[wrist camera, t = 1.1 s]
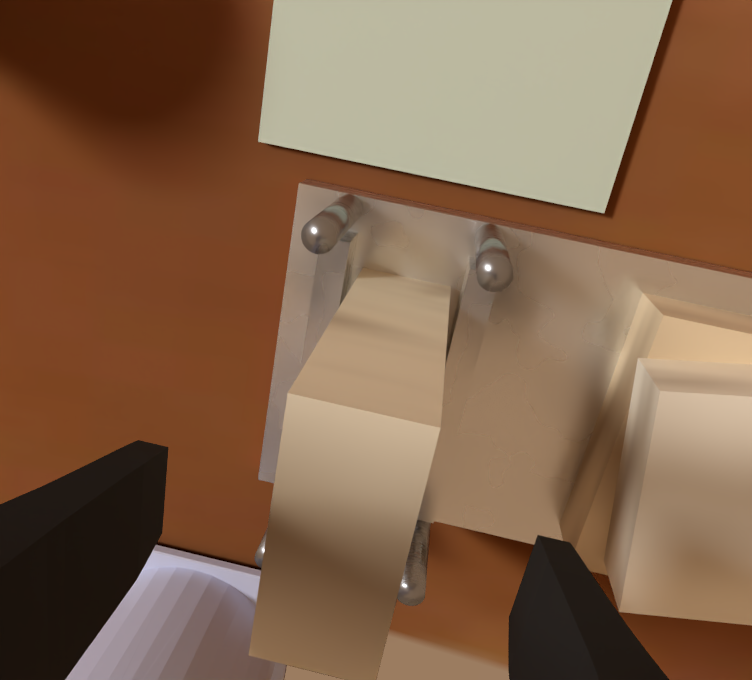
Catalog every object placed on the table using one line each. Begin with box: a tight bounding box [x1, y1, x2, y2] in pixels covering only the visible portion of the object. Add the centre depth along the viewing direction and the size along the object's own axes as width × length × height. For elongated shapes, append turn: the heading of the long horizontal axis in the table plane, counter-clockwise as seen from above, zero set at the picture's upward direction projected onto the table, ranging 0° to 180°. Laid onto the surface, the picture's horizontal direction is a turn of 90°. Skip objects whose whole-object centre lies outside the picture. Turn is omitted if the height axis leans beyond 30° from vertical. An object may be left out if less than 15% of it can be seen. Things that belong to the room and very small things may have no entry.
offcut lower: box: [559, 293, 752, 575], centre depth 18 cm, size 8×5×2 cm, turn 169°
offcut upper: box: [604, 358, 752, 625], centre depth 16 cm, size 6×4×2 cm
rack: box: [255, 179, 752, 606], centre depth 18 cm, size 10×16×5 cm, turn 79°
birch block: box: [249, 268, 451, 680], centre depth 16 cm, size 6×3×8 cm, turn 169°
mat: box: [258, 0, 672, 213], centre depth 17 cm, size 6×10×1 cm, turn 79°
